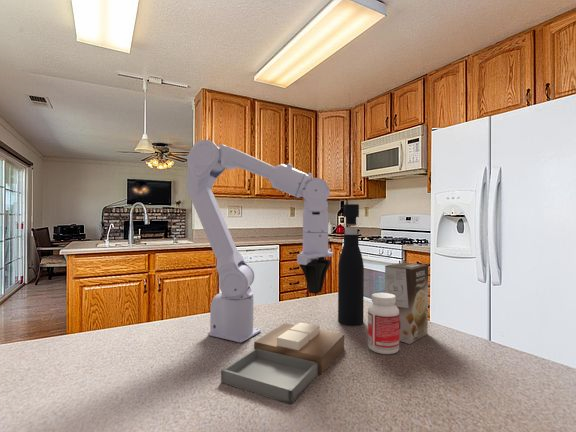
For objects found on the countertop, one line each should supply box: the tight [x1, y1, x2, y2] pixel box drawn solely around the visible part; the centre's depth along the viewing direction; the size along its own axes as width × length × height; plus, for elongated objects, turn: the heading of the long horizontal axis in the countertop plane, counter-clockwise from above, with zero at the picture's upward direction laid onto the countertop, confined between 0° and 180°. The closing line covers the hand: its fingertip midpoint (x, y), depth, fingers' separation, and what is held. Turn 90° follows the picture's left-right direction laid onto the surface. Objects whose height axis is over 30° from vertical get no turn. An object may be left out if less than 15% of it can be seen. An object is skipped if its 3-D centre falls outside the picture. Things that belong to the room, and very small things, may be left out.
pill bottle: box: [367, 292, 400, 355], centre depth 67 cm, size 6×6×11 cm
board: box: [253, 322, 345, 375], centre depth 65 cm, size 14×12×3 cm
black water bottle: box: [337, 203, 365, 327], centre depth 84 cm, size 6×6×30 cm
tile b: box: [277, 330, 309, 350], centre depth 62 cm, size 4×4×2 cm
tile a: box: [290, 322, 320, 340], centre depth 67 cm, size 4×4×2 cm
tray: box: [220, 348, 319, 405], centre depth 55 cm, size 13×10×2 cm
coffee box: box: [384, 262, 429, 345], centre depth 75 cm, size 9×6×16 cm
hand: (315, 292), depth 74 cm, fingers closed
